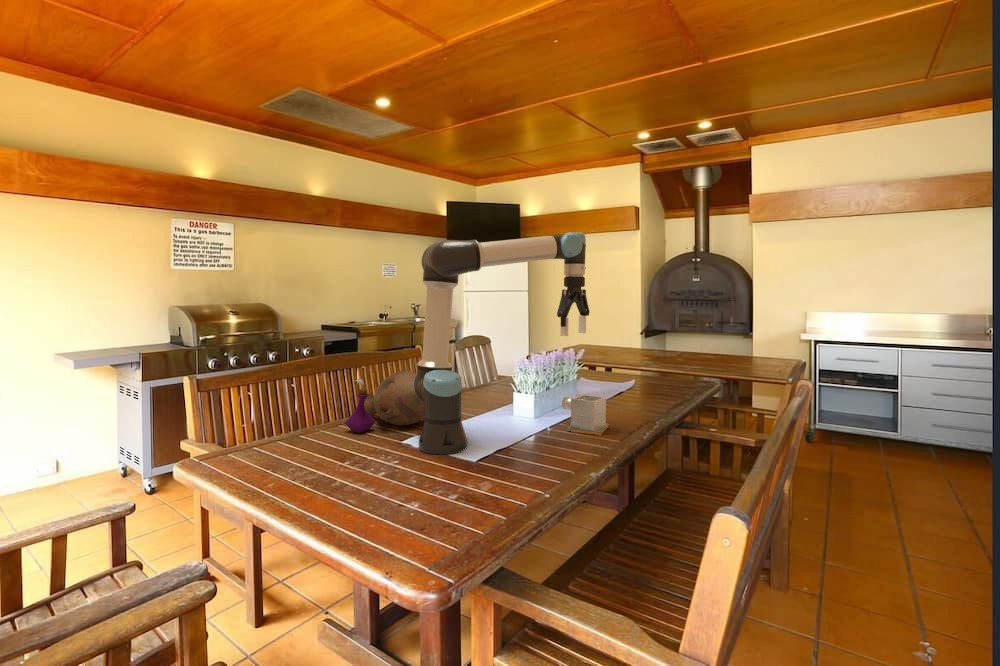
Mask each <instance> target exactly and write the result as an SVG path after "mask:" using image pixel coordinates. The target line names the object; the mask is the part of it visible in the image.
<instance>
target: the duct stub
mask: <svg viewBox="0 0 1000 666" xmlns="http://www.w3.org/2000/svg"><path fill="white" fill-rule="evenodd" d="M608 425H609V426H610V424H609V423H605V426H603V427H601V428H599V429H597V430H595V431H591V430H586V429H580V428H575V427H571V424H570V425H569V426H567V427H566V430H567V429H569V430H581V431H589V432H597V433H601V432H602V431H603V430H604V429H605V428H606V427H607V426H608Z"/></svg>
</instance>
